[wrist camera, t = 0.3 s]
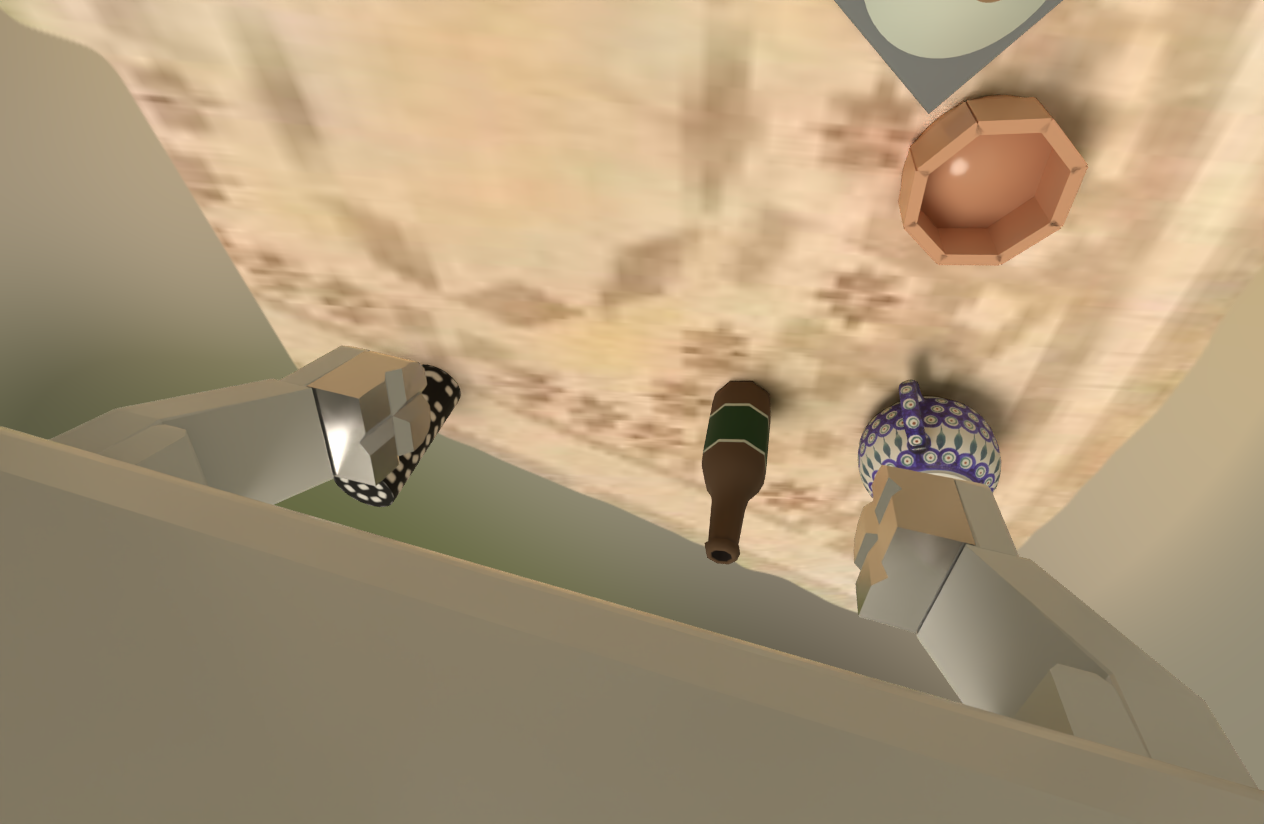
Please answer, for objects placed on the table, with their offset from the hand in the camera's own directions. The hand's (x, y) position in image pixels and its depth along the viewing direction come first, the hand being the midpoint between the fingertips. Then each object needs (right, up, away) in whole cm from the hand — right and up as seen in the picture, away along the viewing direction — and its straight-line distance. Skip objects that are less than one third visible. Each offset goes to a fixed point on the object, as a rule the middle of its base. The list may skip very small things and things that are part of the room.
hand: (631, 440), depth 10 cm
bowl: (+30, +22, +41) cm, 55 cm away
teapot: (+36, -1, +62) cm, 72 cm away
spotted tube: (-30, +5, +78) cm, 84 cm away
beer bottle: (+15, +2, +66) cm, 67 cm away
